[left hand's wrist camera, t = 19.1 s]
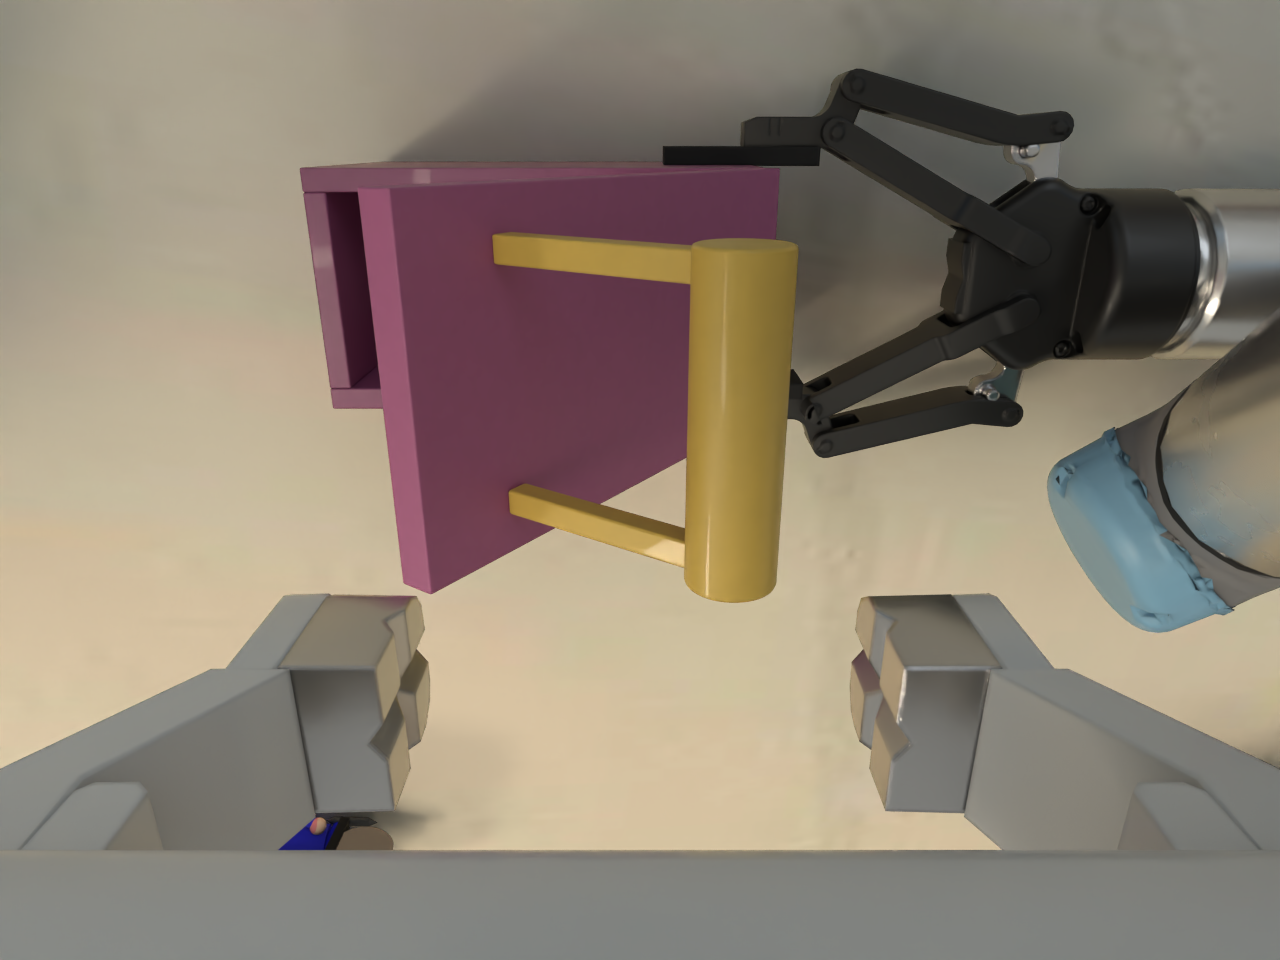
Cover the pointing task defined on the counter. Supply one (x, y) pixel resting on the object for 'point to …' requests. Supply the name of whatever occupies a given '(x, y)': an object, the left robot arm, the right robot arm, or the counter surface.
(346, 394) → the chest
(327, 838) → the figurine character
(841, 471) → the counter surface
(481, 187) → the lid
